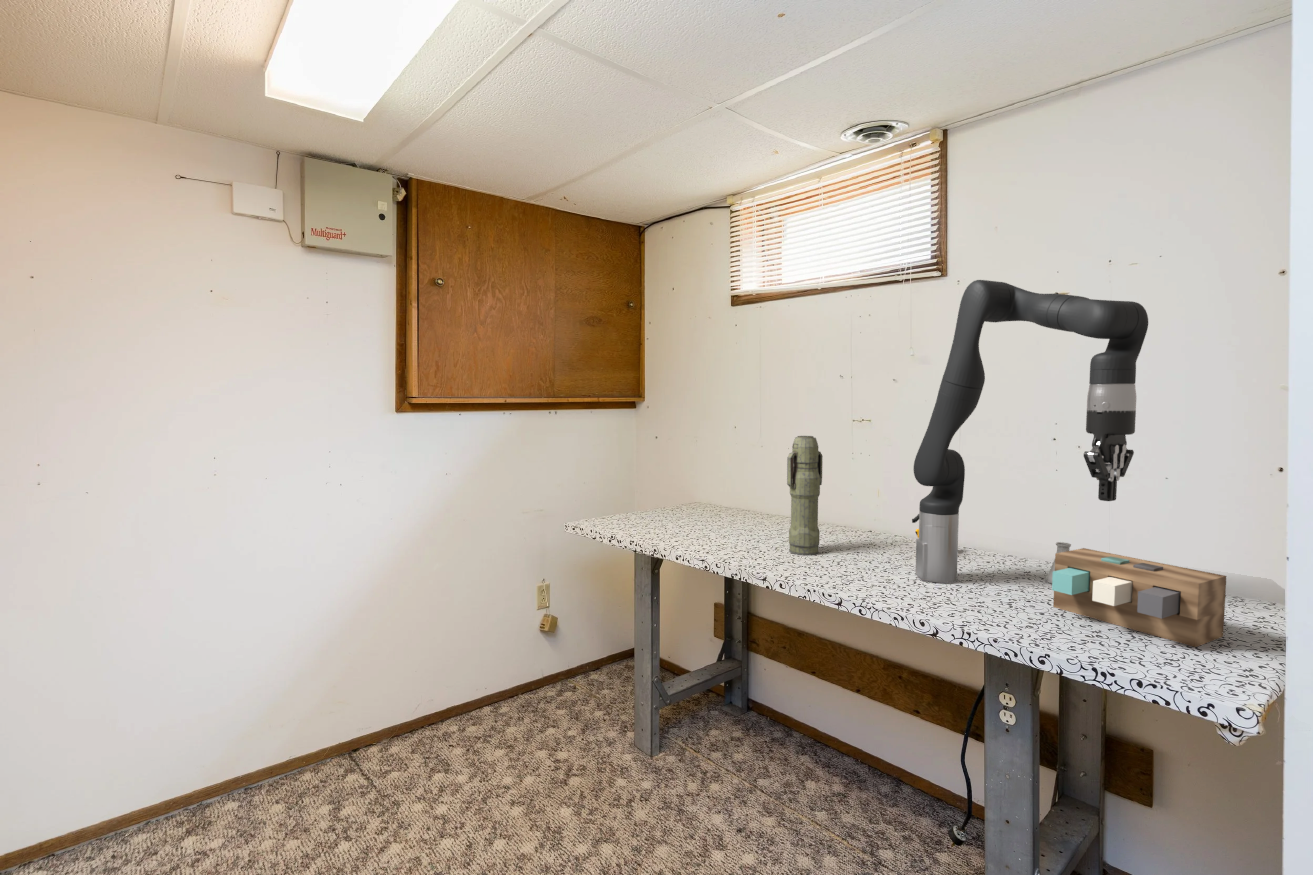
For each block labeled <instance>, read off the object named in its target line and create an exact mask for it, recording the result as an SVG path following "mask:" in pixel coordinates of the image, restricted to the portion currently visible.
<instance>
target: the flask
mask: <svg viewBox="0 0 1313 875" xmlns="http://www.w3.org/2000/svg"><path fill="white" fill-rule="evenodd" d="M1055 545H1056V553H1061V552H1066V551H1070V548H1071V547H1072V544H1071V543H1069V542H1063V541H1062V542H1061V541H1060V542H1059V541H1057V542H1056V543H1055ZM1053 571H1055V558H1054V560H1053V562H1052V564H1051V566H1050V569H1049V571H1048V573H1047V575H1046V576H1045V578H1044V580H1045V582H1047V583H1049V584H1052V576H1053Z"/></svg>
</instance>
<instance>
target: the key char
mask: <svg viewBox="0 0 1313 875" xmlns="http://www.w3.org/2000/svg"><path fill="white" fill-rule="evenodd" d="M1180 599H1181V591H1176V590H1172V589H1167V588H1163V587H1158V586H1157V587H1153V588H1150V589H1146V590H1142V591H1138V606H1137V612H1138V613H1142V614H1146V615H1150V616H1154V617H1158V618H1161V619H1162V618H1165V617H1168V616H1171V615H1174V614H1178V613H1180Z"/></svg>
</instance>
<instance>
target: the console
mask: <svg viewBox="0 0 1313 875" xmlns="http://www.w3.org/2000/svg"><path fill="white" fill-rule="evenodd" d="M1054 559H1055V571H1057V570H1062V569H1067V568H1071V567H1073V568H1078V569H1082V570H1087V571H1090V591H1086V592H1082V593H1078V594H1074V595H1069V594H1065V593H1062V592H1058V591H1054V590H1053V606H1052V607H1053V608H1056V609H1060V610H1063V611H1066V612H1070V613H1073V614H1077V615H1081V616H1085V617H1088V618H1092V619H1095V620H1098V621H1101V622H1104V623H1110V624H1113V625H1116V626H1119V627H1123V628H1127V629H1130V630H1133V631H1137V632H1140V633H1144V634H1148V635H1152V636H1155V637H1159V638H1161V639H1165V640H1168V641H1173V642H1176V643H1180V644H1184V645H1186V646H1190V647H1193V648H1196V647H1200V646H1202V645H1205V644H1207V643H1208V644H1209V643H1210V642H1213V641H1215V640H1218V639H1222V638H1223V637H1224V632H1225V631H1224V625H1225V613H1226V612H1225V609H1226V591H1227V590H1226V589H1227V575H1224V574H1220V573H1219V574H1218V573H1214V572H1209V571H1203V570H1198V569H1192V568H1188V567H1183V566H1182V567H1181V566H1177V565H1172V564H1168V563H1167V564H1166V563H1163V562H1156V561H1152V560H1147V559H1141V558H1138V557H1137V558H1136V557H1131V556H1127V555H1121V554H1117V553H1111V552H1105V551H1100V550H1095V549H1090V548H1085V547H1081V548H1078V549H1072V550H1071V549H1070V550H1069V551H1066V552H1061V553H1057V552H1056V553H1055V556H1054ZM1112 576H1113V577H1118V578H1122V579H1127V580H1131V581H1133V594H1132V601H1131V602H1127V603H1124V604H1120V605H1117V606H1111V605H1108V604H1104V603H1100V602H1096V601H1092V595H1093V581H1095V580H1099V579H1103V578H1108V577H1112ZM1157 586H1158V587H1163V588H1167V589H1172V590H1176V591H1181V599H1180V613H1178V614H1174V615H1171V616H1168V617H1165V618H1162V619H1161V618H1158V617H1154V616H1150V615H1146V614H1142V613H1138V612H1137V606H1138V591H1142V590H1146V589H1150V588H1153V587H1157Z"/></svg>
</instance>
